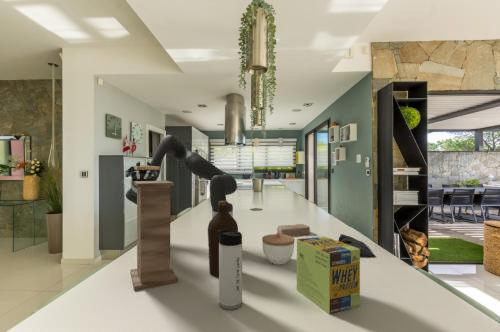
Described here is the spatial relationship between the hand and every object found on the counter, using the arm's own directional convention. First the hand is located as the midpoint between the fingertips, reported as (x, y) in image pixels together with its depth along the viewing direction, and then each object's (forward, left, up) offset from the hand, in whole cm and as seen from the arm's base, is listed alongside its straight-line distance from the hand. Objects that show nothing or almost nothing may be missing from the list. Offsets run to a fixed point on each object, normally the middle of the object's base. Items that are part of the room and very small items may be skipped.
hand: (143, 163), depth 115 cm
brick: (-66, -39, -39) cm, 86 cm away
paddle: (-2, +4, -2) cm, 5 cm away
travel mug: (-41, +39, -38) cm, 68 cm away
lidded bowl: (-56, +5, -38) cm, 68 cm away
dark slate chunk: (-90, -13, -39) cm, 99 cm away
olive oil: (-36, +17, -38) cm, 55 cm away
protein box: (-68, +34, -39) cm, 85 cm away
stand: (-13, +22, -38) cm, 46 cm away
